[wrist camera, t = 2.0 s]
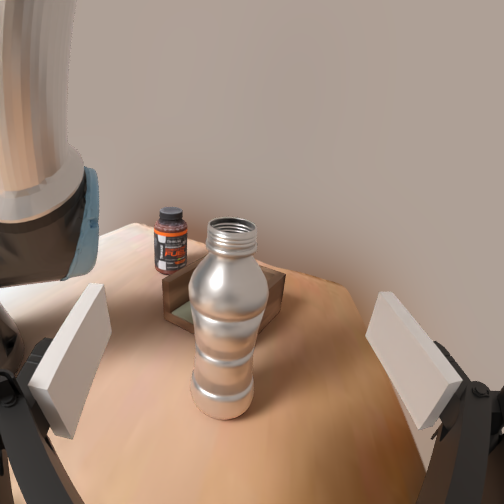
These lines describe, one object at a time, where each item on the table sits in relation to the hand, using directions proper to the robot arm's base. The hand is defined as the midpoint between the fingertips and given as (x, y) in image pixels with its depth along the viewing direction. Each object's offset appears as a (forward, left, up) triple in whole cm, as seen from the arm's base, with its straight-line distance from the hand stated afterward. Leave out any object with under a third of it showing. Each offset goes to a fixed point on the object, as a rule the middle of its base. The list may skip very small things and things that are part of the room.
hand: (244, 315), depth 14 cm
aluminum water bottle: (-6, +8, -19) cm, 22 cm away
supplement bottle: (-31, +28, -19) cm, 46 cm away
